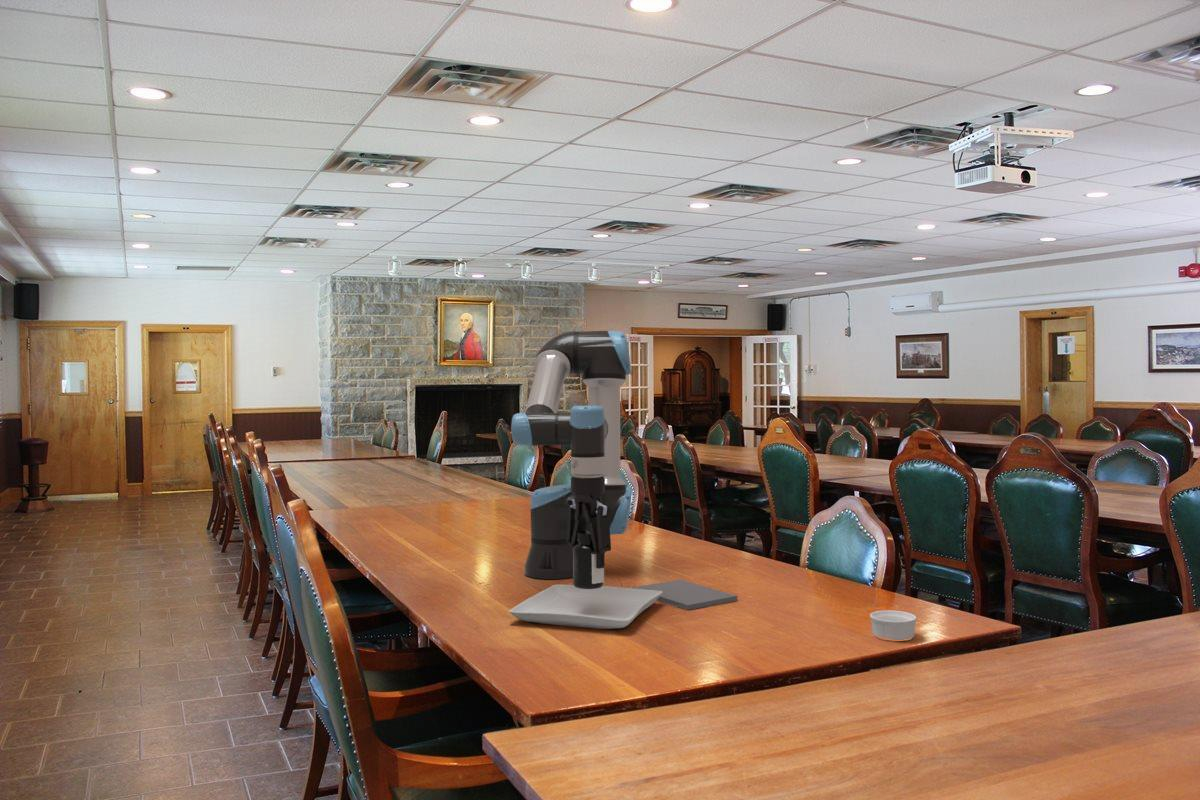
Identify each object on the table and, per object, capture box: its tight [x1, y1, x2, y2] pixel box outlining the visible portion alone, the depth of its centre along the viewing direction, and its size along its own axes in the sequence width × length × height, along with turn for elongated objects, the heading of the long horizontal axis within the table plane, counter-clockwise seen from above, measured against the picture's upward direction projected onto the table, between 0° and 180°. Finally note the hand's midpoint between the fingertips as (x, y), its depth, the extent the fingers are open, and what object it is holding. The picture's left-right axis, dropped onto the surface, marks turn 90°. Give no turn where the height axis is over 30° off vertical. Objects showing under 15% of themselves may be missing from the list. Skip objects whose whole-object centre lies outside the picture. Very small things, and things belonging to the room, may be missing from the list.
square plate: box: [508, 583, 663, 630], centre depth 202 cm, size 27×27×4 cm
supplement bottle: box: [572, 531, 605, 589], centre depth 201 cm, size 7×7×12 cm
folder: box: [631, 579, 738, 611], centre depth 217 cm, size 15×21×1 cm
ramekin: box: [869, 609, 917, 640], centre depth 183 cm, size 9×9×4 cm
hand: (588, 579), depth 201 cm, fingers closed on supplement bottle, 7 cm apart
